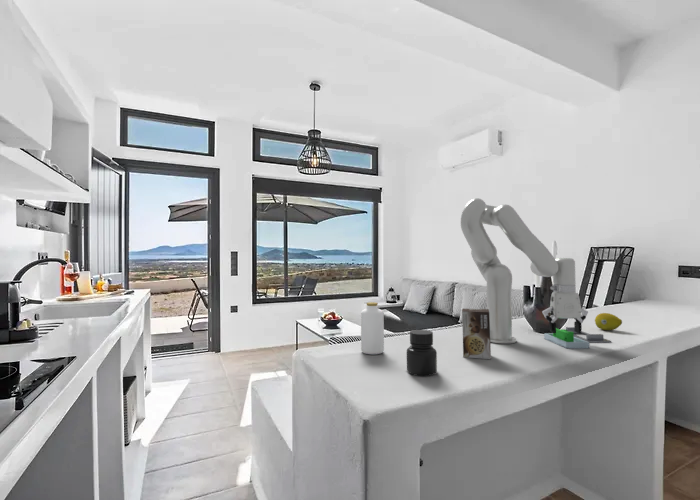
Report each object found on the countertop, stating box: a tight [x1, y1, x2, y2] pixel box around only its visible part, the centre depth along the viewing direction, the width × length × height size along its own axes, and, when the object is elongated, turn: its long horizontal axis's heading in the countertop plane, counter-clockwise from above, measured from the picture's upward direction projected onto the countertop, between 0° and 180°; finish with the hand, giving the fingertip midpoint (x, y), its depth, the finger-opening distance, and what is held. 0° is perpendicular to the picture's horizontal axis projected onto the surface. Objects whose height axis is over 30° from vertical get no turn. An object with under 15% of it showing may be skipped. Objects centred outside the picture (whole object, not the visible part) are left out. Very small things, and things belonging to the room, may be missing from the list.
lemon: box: [594, 312, 623, 332], centre depth 163 cm, size 11×8×8 cm
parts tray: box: [543, 332, 591, 349], centre depth 139 cm, size 9×16×2 cm, turn 179°
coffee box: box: [461, 308, 492, 360], centre depth 123 cm, size 9×6×16 cm
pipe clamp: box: [553, 327, 575, 342], centre depth 139 cm, size 11×4×5 cm, turn 176°
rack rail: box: [565, 326, 612, 344], centre depth 150 cm, size 9×20×3 cm, turn 178°
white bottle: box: [360, 301, 385, 356], centre depth 129 cm, size 8×8×18 cm
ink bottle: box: [406, 329, 438, 377], centre depth 106 cm, size 10×9×12 cm
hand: (565, 332), depth 140 cm, fingers open, 9 cm apart
